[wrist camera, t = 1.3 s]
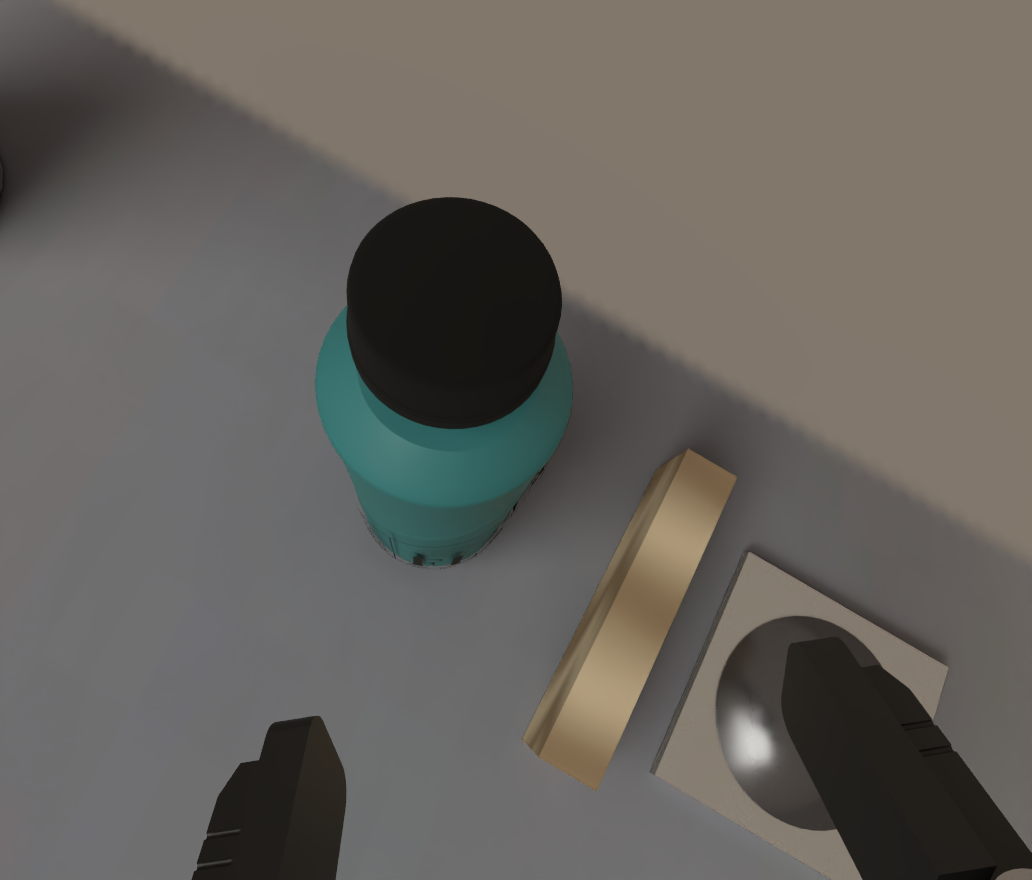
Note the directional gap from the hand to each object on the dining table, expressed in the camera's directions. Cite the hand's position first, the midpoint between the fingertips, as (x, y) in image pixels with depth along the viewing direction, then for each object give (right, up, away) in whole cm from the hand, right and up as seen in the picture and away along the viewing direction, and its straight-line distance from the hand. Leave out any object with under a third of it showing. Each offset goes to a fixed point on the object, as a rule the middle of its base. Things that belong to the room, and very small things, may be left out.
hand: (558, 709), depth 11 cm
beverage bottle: (-5, +2, +19) cm, 20 cm away
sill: (+4, -3, +19) cm, 20 cm away
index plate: (+13, -8, +19) cm, 24 cm away
